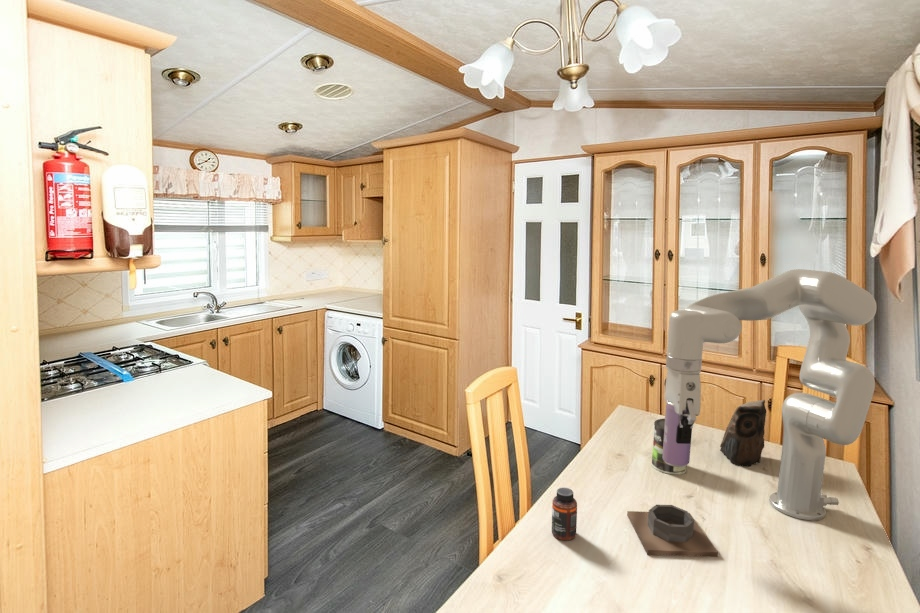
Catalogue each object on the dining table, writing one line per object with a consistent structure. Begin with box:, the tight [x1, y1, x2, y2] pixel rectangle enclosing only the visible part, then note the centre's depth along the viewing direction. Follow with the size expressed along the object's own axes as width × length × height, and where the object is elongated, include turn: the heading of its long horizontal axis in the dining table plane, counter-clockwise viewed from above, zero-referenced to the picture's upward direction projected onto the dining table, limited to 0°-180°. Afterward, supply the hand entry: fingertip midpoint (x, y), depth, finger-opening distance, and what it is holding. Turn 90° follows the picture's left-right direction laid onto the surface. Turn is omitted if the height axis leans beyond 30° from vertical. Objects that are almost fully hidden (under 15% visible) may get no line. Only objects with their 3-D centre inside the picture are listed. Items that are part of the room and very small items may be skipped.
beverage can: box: [662, 400, 692, 467], centre depth 120 cm, size 6×6×15 cm
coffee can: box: [650, 418, 687, 476], centre depth 158 cm, size 10×10×14 cm
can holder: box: [626, 504, 719, 558], centre depth 123 cm, size 16×16×5 cm
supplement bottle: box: [551, 487, 578, 541], centre depth 123 cm, size 6×6×11 cm
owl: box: [719, 399, 767, 468], centre depth 162 cm, size 13×13×20 cm
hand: (677, 436), depth 120 cm, fingers closed on beverage can, 5 cm apart
